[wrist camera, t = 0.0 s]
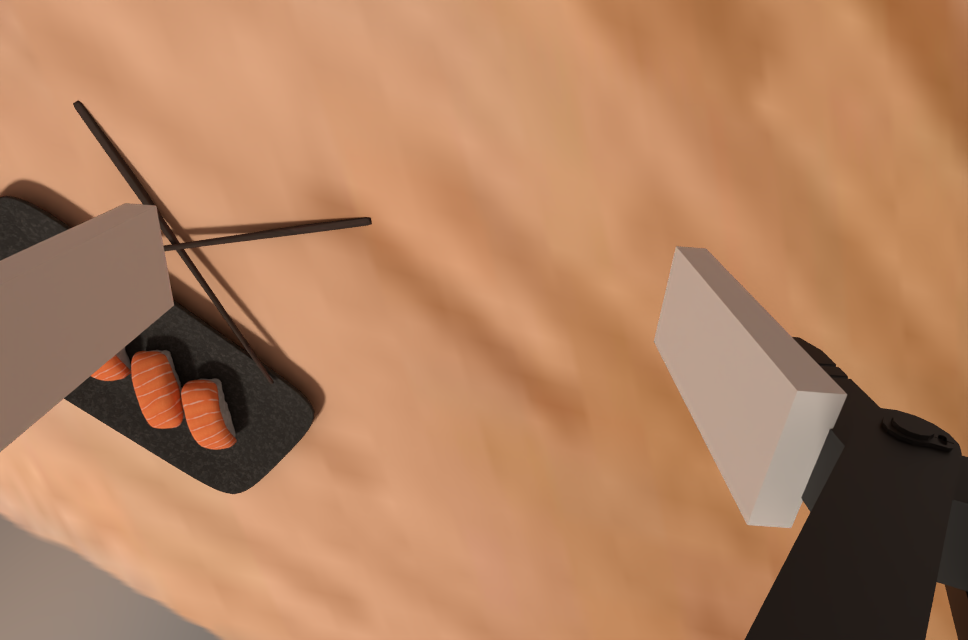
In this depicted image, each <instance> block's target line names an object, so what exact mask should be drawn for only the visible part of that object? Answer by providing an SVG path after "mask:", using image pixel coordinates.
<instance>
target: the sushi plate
mask: <svg viewBox="0 0 968 640" xmlns="http://www.w3.org/2000/svg"><path fill="white" fill-rule="evenodd" d="M73 105H74V107H75V109H76V110H77V112H78V113H79V115H80V116H81V118H82V119H83V120H84V122H85V123H86V125H87V126H88V128H89V129H90V131H91V132H92V133H93V135H94V136H95V138H96V139H97V140H98V142H99V143H100V145H101V146H102V147H103V149H104V150H105V152H106V153H107V154H108V156H109V157H110V159H111V160H112V162H113V163H114V164H115V166H116V167H117V169H118V170H119V171H120V173H121V174H122V176H123V177H124V178H125V180H126V181H127V183H128V184H129V185H130V187H131V188H132V190H133V191H134V192H135V194H136V195H137V197H138V198H139V199H140V201H141V202H142V204H143V205H154V203H153V202H152V200H151V199H150V197H149V196H148V194H147V193H146V191H145V190H144V188H143V187H142V185H141V184H140V183H139V181H138V180H137V178H136V177H135V175H134V174H133V172H132V171H131V169H130V168H129V167H128V165H127V164H126V163H125V161H124V160H123V158H122V157H121V156H120V154H119V153H118V152H117V150H116V149H115V148H114V146H113V145H112V144H111V142H110V141H109V140H108V138H107V137H106V135H105V134H104V133H103V131H102V130H101V129H100V127H99V126H98V125H97V123H96V122H95V121H94V119H93V118H92V117H91V115H90V114H89V113H88V111H87V110H86V109H85V107H84V106H83V105H82V103H80V102H79V101H77V102H75V103H73ZM154 206H155V205H154ZM157 213H158V218H159V224H160V229H161V230H162V231H163V233H164V234H165V235H166V237H167V238H168V240H169V241H170V242H171V244H172V245H165V246H164V251H171V250H176V251H177V252H178V254H179V255H180V256H181V258H182V259H183V261H184V262H185V263H186V265H187V266H188V268H189V269H190V270H191V272H192V273H193V275H194V276H195V278H196V279H197V280H198V282H199V283H200V285H201V286H202V287H203V289H204V290H205V292H206V293H207V295H208V296H209V297H210V299H211V300H212V302H213V303H214V304H215V306H216V307H217V309H218V310H219V312H220V313H221V314H222V316H223V317H224V319H225V320H226V322H227V323H228V324H229V326H230V327H231V329H232V330H233V332H234V333H235V334H236V336H237V337H238V339H239V340H240V342H241V343H242V344H243V346H244V347H245V349H246V350H247V351H248V352H246V351H245V350H243V349H242V348H240V347H239V346H238V345H236V344H235V343H233V342H232V341H231V340H229V339H228V338H226V337H225V336H223V335H222V334H221V333H219V332H218V331H216V330H215V329H214V328H212V327H211V326H209V325H208V324H206V323H205V322H204V321H202V320H201V319H199V318H198V317H197V316H195V315H194V314H192V313H191V312H189V311H188V310H187V309H185V308H184V307H182V306H181V305H180V304H178V303H177V302H175V301H174V300H173V302H174V306H173V307H171V308H170V309H169V310H168V311H167V312H165V313H164V314H163V315H162V316H161V317H160V318H158V319H157V320H156V321H155V322H154V323H152V324H151V325H150V326H149V327H148V328H147V329H145V330H144V331H143V332H142V333H141V334H139V335H138V336H137V337H136V338H135V339H134V340H132V341H131V342H130V343H129V344H128V345H126V346H125V347H124V348H123V349H122V350H120V351H119V352H118V353H117V354H116V355H115V356H113V357H112V358H111V359H110V360H109V361H107V362H106V363H105V364H104V365H103V366H102V367H100V368H99V369H98V370H97V371H96V372H94V373H93V374H92V375H91V376H90V377H89V378H87V379H86V380H85V381H84V382H83V383H81V384H80V385H79V386H78V387H77V388H76V389H74V390H73V391H72V392H71V393H70V394H68V395H67V396H66V397H65V398H64V399H65V400H67V401H69V402H70V403H72V404H74V405H75V406H77V407H78V408H80V409H82V410H83V411H85V412H87V413H88V414H90V415H92V416H93V417H95V418H96V419H98V420H100V421H101V422H103V423H105V424H106V425H108V426H109V427H111V428H113V429H114V430H116V431H118V432H119V433H121V434H123V435H124V436H126V437H127V438H129V439H131V440H132V441H134V442H136V443H137V444H139V445H140V446H142V447H144V448H145V449H147V450H149V451H150V452H152V453H154V454H155V455H157V456H158V457H160V458H162V459H163V460H165V461H167V462H168V463H170V464H171V465H173V466H175V467H176V468H178V469H180V470H181V471H183V472H185V473H186V474H188V475H190V476H191V477H193V478H195V479H197V480H199V481H200V482H202V483H204V484H206V485H208V486H210V487H212V488H214V489H216V490H219V491H222V492H225V493H230V494H237V493H241V492H244V491H246V490H248V489H249V488H251V487H253V486H254V485H255V484H256V483H258V482H259V481H260V480H261V479H262V478H263V477H264V476H265V475H266V474H268V473H269V472H270V471H271V470H272V469H273V468H274V467H275V466H276V465H277V464H278V463H279V462H280V461H281V460H282V459H283V458H284V457H285V456H286V455H287V454H288V453H289V452H290V451H291V450H292V448H293V447H294V446H295V445H296V444H297V443H298V442H299V441H300V440H301V439H302V437H303V436H304V435H305V434H306V432H307V431H308V429H309V428H310V426H311V424H312V422H313V419H314V409H313V407H312V405H311V403H310V402H309V401H308V399H307V398H306V397H305V396H304V395H303V394H302V393H301V392H300V391H299V390H298V389H296V388H295V387H294V386H293V385H291V384H290V383H289V382H288V381H286V380H285V379H284V378H282V377H281V376H280V375H278V374H277V373H275V372H274V371H273V370H271V369H270V368H269V367H267V366H266V365H264V364H263V363H262V362H260V360H259V359H258V358H257V356H256V355H255V353H254V352H253V350H252V349H251V347H250V346H249V344H248V343H247V341H246V340H245V338H244V337H243V336H242V334H241V333H240V331H239V330H238V328H237V327H236V325H235V324H234V322H233V321H232V319H231V318H230V316H229V315H228V314H227V312H226V311H225V309H224V308H223V306H222V305H221V303H220V302H219V300H218V299H217V297H216V296H215V294H214V293H213V292H212V290H211V289H210V287H209V286H208V284H207V283H206V281H205V280H204V278H203V277H202V275H201V274H200V272H199V271H198V269H197V268H196V266H195V265H194V264H193V262H192V261H191V259H190V258H189V256H188V255H187V253H186V252H185V250H184V249H186V248H194V247H201V246H209V245H217V244H225V243H233V242H241V241H249V240H257V239H265V238H273V237H281V236H289V235H297V234H305V233H313V232H321V231H329V230H336V229H344V228H352V227H359V226H366V225H370V224H372V223H371V218H358V219H349V220H340V221H331V222H323V223H314V224H307V225H301V226H294V227H287V228H280V229H274V230H267V231H260V232H254V233H247V234H240V235H234V236H227V237H220V238H213V239H207V240H200V241H193V242H186V243H179V241H178V240H177V238H176V237H175V235H174V234H173V232H172V231H171V229H170V228H169V226H168V225H167V223H166V222H165V220H164V219H163V217H162V216H161V214H160V213H159V211H158V210H157ZM68 229H70V227H69V226H67V225H66V224H64V223H63V222H61V221H60V220H58V219H57V218H55V217H54V216H52V215H51V214H49V213H47V212H46V211H44V210H42V209H41V208H39V207H37V206H35V205H33V204H31V203H29V202H27V201H25V200H22V199H19V198H17V197H11V196H3V197H0V261H1V260H3V259H5V258H7V257H9V256H12V255H14V254H16V253H18V252H20V251H23V250H25V249H27V248H29V247H31V246H33V245H36V244H38V243H40V242H42V241H44V240H47V239H49V238H51V237H53V236H55V235H57V234H60V233H62V232H64V231H66V230H68Z"/></svg>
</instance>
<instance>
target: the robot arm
mask: <svg viewBox="0 0 968 640" xmlns="http://www.w3.org/2000/svg"><path fill="white" fill-rule="evenodd" d="M173 306H174V302H173V296H172V291H171V285H170V280H169V274H168V268H167V263H166V257H165V252H164V246H163V241H162V235H161V229H160V224H159V218H158V213H157V207H156V206H154V205H141V204H129V203H125V204H123V205H121V206H118V207H116V208H114V209H112V210H110V211H107V212H105V213H103V214H101V215H99V216H97V217H94V218H92V219H90V220H88V221H86V222H84V223H81V224H79V225H77V226H75V227H73V228H70V229H68V230H66V231H64V232H62V233H60V234H57V235H55V236H53V237H51V238H49V239H47V240H44V241H42V242H40V243H38V244H36V245H33V246H31V247H29V248H27V249H25V250H23V251H20V252H18V253H16V254H14V255H12V256H9V257H7V258H5V259H3V260H1V261H0V452H1V451H2V450H3V449H4V448H6V447H7V446H8V445H9V444H10V443H12V442H13V441H14V440H15V439H16V438H17V437H19V436H20V435H21V434H22V433H23V432H25V431H26V430H27V429H28V428H29V427H31V426H32V425H33V424H34V423H35V422H36V421H38V420H39V419H40V418H41V417H42V416H44V415H45V414H46V413H47V412H48V411H49V410H51V409H52V408H53V407H54V406H55V405H57V404H58V403H59V402H60V401H61V400H62V399H64V398H65V397H66V396H67V395H68V394H70V393H71V392H72V391H73V390H74V389H76V388H77V387H78V386H79V385H80V384H81V383H83V382H84V381H85V380H86V379H87V378H89V377H90V376H91V375H92V374H93V373H94V372H96V371H97V370H98V369H99V368H100V367H102V366H103V365H104V364H105V363H106V362H107V361H109V360H110V359H111V358H112V357H113V356H115V355H116V354H117V353H118V352H119V351H120V350H122V349H123V348H124V347H125V346H126V345H128V344H129V343H130V342H131V341H132V340H134V339H135V338H136V337H137V336H138V335H139V334H141V333H142V332H143V331H144V330H145V329H147V328H148V327H149V326H150V325H151V324H152V323H154V322H155V321H156V320H157V319H158V318H160V317H161V316H162V315H163V314H164V313H165V312H167V311H168V310H169V309H170V308H171V307H173ZM654 343H655V345H656V347H657V348H658V350H659V352H660V354H661V356H662V358H663V360H664V362H665V364H666V366H667V368H668V370H669V372H670V374H671V376H672V378H673V380H674V382H675V384H676V386H677V388H678V390H679V392H680V394H681V396H682V398H683V400H684V402H685V404H686V405H687V407H688V409H689V411H690V413H691V415H692V417H693V419H694V421H695V423H696V425H697V427H698V429H699V431H700V433H701V435H702V437H703V439H704V441H705V443H706V445H707V447H708V449H709V451H710V453H711V455H712V457H713V459H714V461H715V462H716V464H717V466H718V468H719V470H720V472H721V474H722V476H723V478H724V480H725V482H726V484H727V486H728V488H729V490H730V492H731V494H732V496H733V498H734V500H735V502H736V504H737V506H738V508H739V510H740V512H741V514H742V516H743V517H744V519H745V521H746V523H747V525H756V526H770V527H784V528H791V527H792V525H793V522H794V520H795V518H796V515H797V513H798V511H799V508H800V506H801V503H802V501H804V503H805V504H806V506H807V507H808V509H809V510H810V514H809V516H808V518H807V520H806V522H805V524H804V526H803V528H802V530H801V532H800V534H799V536H798V538H797V540H796V541H795V543H794V545H793V547H792V549H791V551H790V553H789V555H788V557H787V559H786V561H785V563H784V565H783V567H782V568H781V570H780V572H779V574H778V576H777V578H776V580H775V582H774V584H773V586H772V588H771V590H770V592H769V594H768V595H767V597H766V599H765V601H764V603H763V605H762V607H761V609H760V611H759V613H758V615H757V617H756V619H755V621H754V623H753V624H752V626H751V628H750V630H749V632H748V634H747V636H746V638H745V640H925V638H926V633H927V628H928V622H929V617H930V612H931V607H932V602H933V597H934V592H935V587H936V582H938V583H942V584H945V587H946V591H947V596H948V600H949V604H950V608H951V612H952V616H953V620H954V624H955V628H956V632H957V636H958V640H968V457H965V456H961V455H962V453H961V449H960V446H959V444H958V443H957V442H956V441H955V440H954V439H953V438H952V437H951V435H950V434H948V433H947V432H945V431H944V430H942V429H941V428H939V427H938V426H936V425H934V424H933V423H930V422H928V421H926V420H924V419H922V418H919V417H917V416H915V415H911V414H908V413H905V412H901V411H898V410H891V409H884V408H880V407H879V406H878V405H877V404H876V403H875V402H874V401H873V400H872V399H871V398H870V397H869V396H868V395H867V394H866V393H865V392H864V391H863V390H861V389H860V388H859V387H858V386H857V385H856V384H855V383H854V382H853V381H852V380H851V379H848V376H847V375H846V374H845V373H844V372H843V371H842V370H841V369H840V368H839V367H836V364H835V363H834V362H833V361H832V360H831V359H830V358H829V357H828V356H827V355H826V354H825V353H824V352H823V351H822V350H820V349H818V348H816V347H815V346H813V345H811V344H810V343H808V342H806V341H804V340H803V339H801V338H798V337H791V336H790V335H789V334H788V333H787V332H786V331H785V330H784V329H783V328H782V327H781V325H780V324H779V323H778V322H777V321H776V320H775V319H774V318H773V317H772V316H771V315H770V314H769V313H768V312H767V311H766V310H765V309H764V308H763V307H762V306H761V305H760V304H759V303H758V302H757V301H756V300H755V299H754V298H753V297H752V296H751V295H750V293H749V292H748V291H747V290H746V289H745V288H744V287H743V286H742V285H741V284H740V283H739V282H738V281H737V280H736V279H735V278H734V277H733V276H732V275H731V274H730V273H729V272H728V271H727V270H726V269H725V268H724V267H723V266H722V265H721V264H720V263H719V261H718V260H717V259H716V258H715V257H714V256H713V255H712V254H711V253H710V252H709V251H708V250H707V249H705V248H692V247H679V246H676V249H675V253H674V258H673V262H672V266H671V270H670V275H669V279H668V283H667V288H666V292H665V296H664V300H663V305H662V309H661V313H660V318H659V322H658V326H657V330H656V335H655V339H654Z"/></svg>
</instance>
